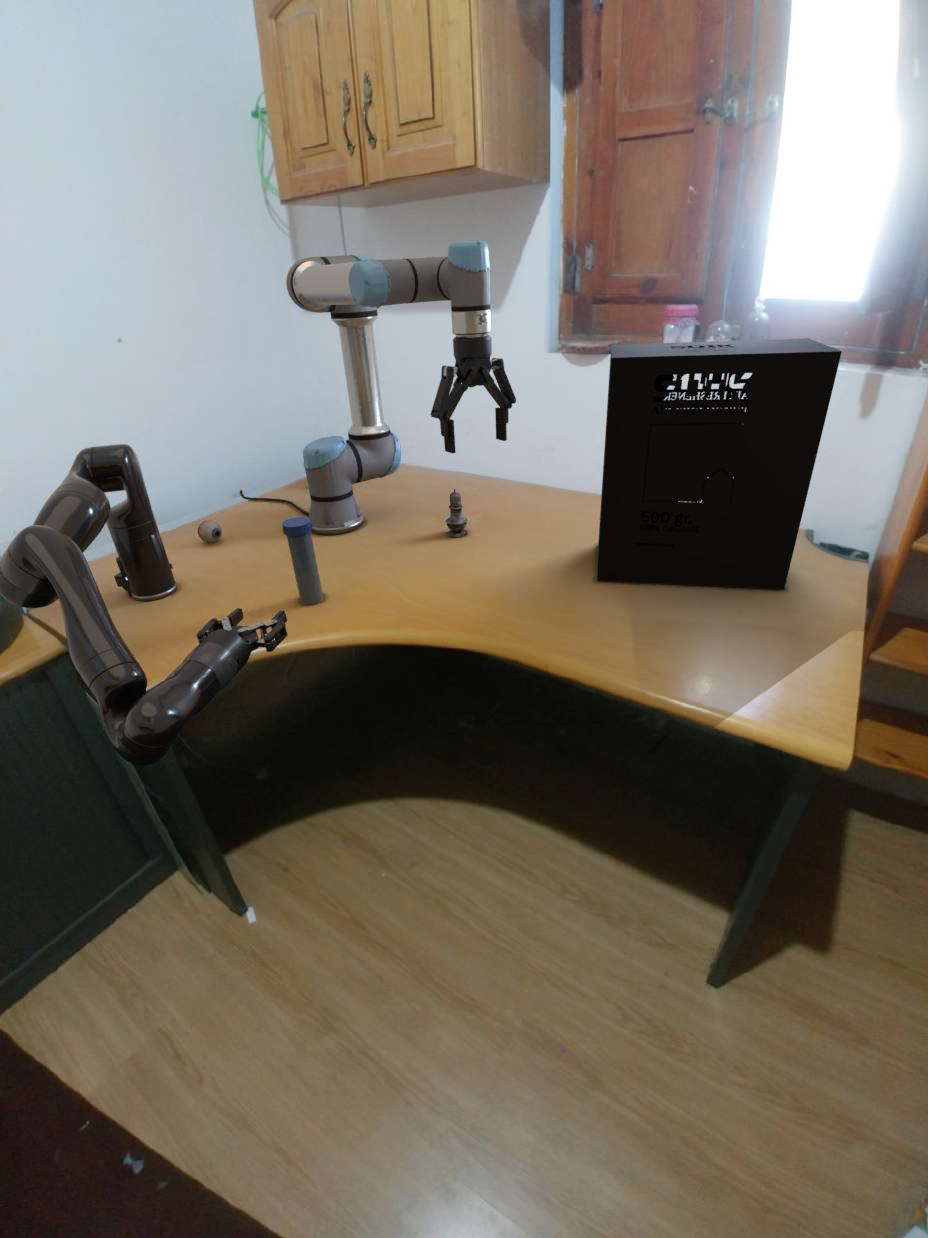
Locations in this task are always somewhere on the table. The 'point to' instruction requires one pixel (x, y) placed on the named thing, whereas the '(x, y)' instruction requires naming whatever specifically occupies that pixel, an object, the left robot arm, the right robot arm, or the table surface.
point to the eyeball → (209, 531)
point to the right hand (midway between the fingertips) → (476, 445)
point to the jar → (305, 569)
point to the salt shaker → (456, 516)
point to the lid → (297, 526)
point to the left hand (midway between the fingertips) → (262, 613)
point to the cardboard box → (710, 460)
